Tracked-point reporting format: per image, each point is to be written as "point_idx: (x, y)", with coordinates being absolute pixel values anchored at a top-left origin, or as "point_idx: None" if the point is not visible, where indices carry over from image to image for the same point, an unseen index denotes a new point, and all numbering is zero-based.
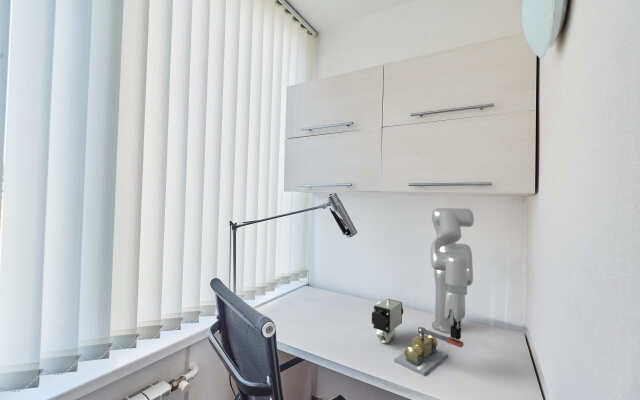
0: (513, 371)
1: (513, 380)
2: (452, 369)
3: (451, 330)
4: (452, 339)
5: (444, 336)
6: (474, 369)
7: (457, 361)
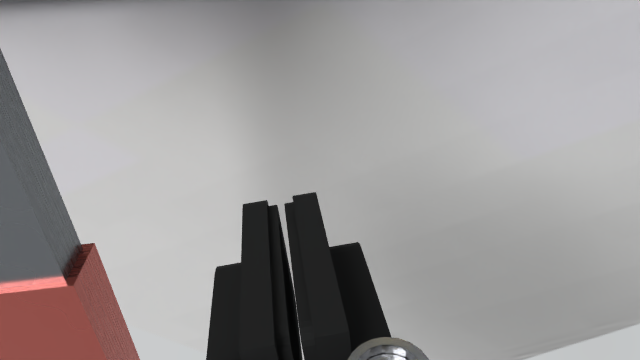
0: (497, 309)
1: (396, 336)
2: (199, 106)
3: (243, 297)
4: (47, 348)
5: (18, 224)
6: (345, 195)
7: (362, 73)
